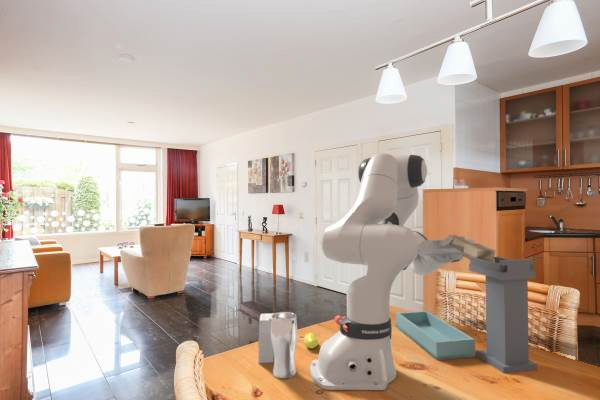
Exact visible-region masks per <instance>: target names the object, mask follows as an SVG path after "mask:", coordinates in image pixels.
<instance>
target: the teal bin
mask: <svg viewBox="0 0 600 400" xmlns="http://www.w3.org/2000/svg"><path fill="white" fill-rule="evenodd" d="M395 327H396V328H397V329H398V330H399V331H400V332H401V333H403V334H404V335H405V336H407V338H409V339H410V340H411V341H412V342H414V343H415V344H416V345H417V346H419V347H420V348H421V349H422V350H423V351H425V352H426V353H427V354H428V355H430V356H431V357H432V358H433V359H434V360H435V361H444V360H455V359H465V358H466V359H467V358H475V357H476V339H475V338H473V337H471V335H469V334H467V333H465V332H463V331H462V330H460V329H459V328H457V327H455V326H453V325H451V324H450V323H449V322H447V321H445V320H443V319H441V318H440V317H438V316H436V315H435V314H433V313H431V312H430V311H428V310H421V311H419V310H417V311H405V312H395Z"/></svg>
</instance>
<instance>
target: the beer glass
mask: <svg viewBox="0 0 600 400" xmlns="http://www.w3.org/2000/svg"><path fill="white" fill-rule="evenodd" d="M297 341H298V323H297V314H296V313H294V312H291V311H280V312H274V314H273V315H272V316H271V342H272V348H273V353H274V358H273V368H272V375H273V377H274V378H277V379H280V380H287V379H291V378H293V377H295V376H296V374H297V370H296V364H295V354H296V348H297Z"/></svg>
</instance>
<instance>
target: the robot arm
mask: <svg viewBox="0 0 600 400" xmlns="http://www.w3.org/2000/svg"><path fill="white" fill-rule="evenodd" d="M357 172H358V174H357V175H358V180H359V183H360V184H359V187H358V191H357V194H356V197H355V199H354V202H353V204H352V206H351V207H350V208H349V210H348V211H347V212H346V213H345V214H344V215H343V216H342V217H341V218H340V219H338V220H337V221H335V222H334V223H332V224H330V225H328V226H327V227H326V228H325V229H324V230H323V233H322V235H321V238H320V239H321V240H320V245H321V250H322V252H323V254H324V256H325V258H326V259H329V260H332V261H335V262H338V263H342V264H350V265H351V264H353V265H362V266H363V265H364V266H367V272H366V274H365V275H363V276H361V277H358V278H356V279H354V280H353V281H351V282H350V283H349V285H348V286H347V290H346V315H345V316H344V317H341V315H336V316H335V317H334V322H335V323H336V325H338V326H339V330H338V331H337V332H336V333H334V334H333V335H332V336H331V337H329V338H328V339H327V340H325V341H324V342H323V343H322V344H321V346H320V349H319V353H318V358H317V359H313V360H312V361H311V363H310V367H309V373H310V374H309V375H310V376H311V379H312V380H313V382H314V383H315V385H317V386H318V387H319V388H321V389H323V390H331V391H332V390H333V391H337V390H338V391H343V390H345V391H348V390H349V391H356V390H357V391H385V390H386V389H387V388H388V386H389V383H392V381H394V380H395V379H396V377H397V375H398V374H397V373H398V372H397V370H396V366H395V361H394V357H393V352H392V351H393V350H392V343H391V340H392V332H393V331H392V329H393V328H392V327H393V326H392V319H391V316H390V300H391V291H392V286H393V284H394V281H395V280H396V278H397V276H398V275H400V273H401V272H402V271H406V270H407V268H408V267H409V266H410V267H411V270H412V271H413V273H414V274H416V275H420V276H427V275H430V274H432V273H434V272H436V271H437V270H438V269H439V268H442V267H443V266H444V265H445V266H446V265H448V264H452V263H456V262H461V261H463V259H464V258H465V257H464V256H463V253H462V252H461V251H459V250H457V249H456V248H454V247H452V246H451V245H449V243H452V242H454V239H453V237H448V236H447V237H446V238H443V239H433V240H432V239H431V240H430V239H428V238H427V237H426V236H425V235H424V234H422V233H421V232H419V231H416V230H413V229H411V227H407V226H405V223H406V222H407V221H408V219H410V217H411V215H412V214H413V213H414V211H415V210H416V208H417V206H418V204H419V190H418V187H420V186H423V184H424V183H425V182H426V179H427V175H428V165H427V164H426V161H425V159H424V158H423V157H422V156H421V155H418V154H410V155H404V154H403V155H402V154H401V155H400V154H397V155H392V154H390V153H387V152H380V153H376V154H374V155H373V156H371V157H369V158H364V159H363V160H362V161H361V162H360V163H359V165H358V171H357ZM382 221H383V222H384V223H381V222H382ZM460 237H461V238H463V239H464V240H466V241H468V242H470V243H472V244H475V243H476V242H475V240H474V239H473V238H466V236H462V235H461V236H460Z"/></svg>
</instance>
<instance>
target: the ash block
mask: <svg viewBox="0 0 600 400" xmlns="http://www.w3.org/2000/svg"><path fill="white" fill-rule="evenodd" d="M447 237H453V239H454V242H452V243H449V245H451V246H452V247H454V248H456V249H457V250H459V251H461V252H462V253H463V256H464V257H463V258H466V259H467V260H469V261H470V258H478V259H482V260H486V261H491V262H494V257H496V250H495V249H494V248H492V247H490V246H488V245H486V244H484V243H481V242H480V243H477V242H475V244H472V243H470V242H468V241H466V240H464V239H463V238H461V236H459V235H457V234H451V235H450V234H449V235H447Z"/></svg>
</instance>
